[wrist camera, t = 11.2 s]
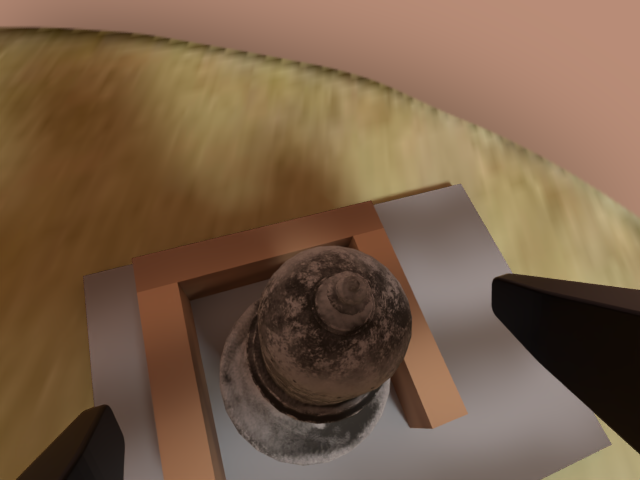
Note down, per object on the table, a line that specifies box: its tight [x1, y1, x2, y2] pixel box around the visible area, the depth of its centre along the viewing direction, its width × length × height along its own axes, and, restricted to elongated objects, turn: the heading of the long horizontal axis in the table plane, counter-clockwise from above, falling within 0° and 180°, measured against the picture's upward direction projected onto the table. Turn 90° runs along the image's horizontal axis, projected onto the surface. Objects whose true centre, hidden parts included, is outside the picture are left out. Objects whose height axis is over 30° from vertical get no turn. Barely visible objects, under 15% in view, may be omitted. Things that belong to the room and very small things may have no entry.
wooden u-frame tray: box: [83, 184, 612, 480], centre depth 16 cm, size 14×20×3 cm
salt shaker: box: [220, 246, 412, 466], centre depth 11 cm, size 6×6×12 cm
